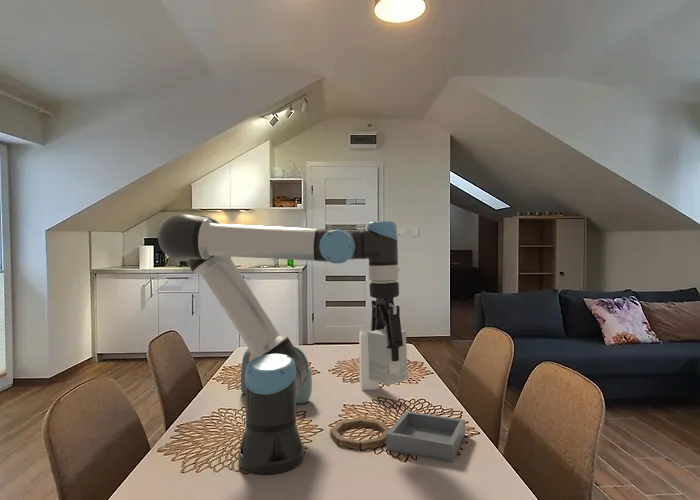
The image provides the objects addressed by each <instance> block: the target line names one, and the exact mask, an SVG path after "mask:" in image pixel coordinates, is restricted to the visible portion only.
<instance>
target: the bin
mask: <svg viewBox="0 0 700 500" xmlns="http://www.w3.org/2000/svg"><path fill="white" fill-rule="evenodd" d="M465 436H466V419H461V418H455V417H449V416H441V415H436V414H435V415H434V414H430V413H429V414H428V413H424V412H423V413H421V412H415V411H410V410H405V411H404V412H403V413H402V415H400V416H399V418H398V419H397V420H396V421H395V423H394V424H393V425H392V426H391V428H390V430H389V431H388V432H387V433H386V443H385V444H386V445H385V446H386V448H385V449H386V451H391V452H397V453H402V454H406V455H407V454H408V455H411V456H418V457H422V458H427V459H434V460H439V461H444V462H450V463H454V461H455V458H456V457H457V454H458V451H459V450H460V448H461V445H462V442H463V440H464V438H465Z"/></svg>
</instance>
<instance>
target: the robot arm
mask: <svg viewBox="0 0 700 500" xmlns="http://www.w3.org/2000/svg"><path fill="white" fill-rule="evenodd" d="M397 230H398V229H397V224H396V223H395V222H394V221H389V220H388V221H387V220H385V221H384V220H383V221H382V220H381V221H370V222H368V223H367V227H366V229H362V230H354V229H353V230H344V229H340V228H333V229H330V228H329V229H328V228H327V229H326V228H325V229H324V228H309V227H308V228H307V227H305V228H304V227H289V226H287V227H286V226H269V225H268V226H265V225H249V224H247V225H246V224H231V223H230V224H229V223H228V224H227V223H221V222H219V221H217V220H216V219H213V218H212V217H210V216H206V215H191V214H187V213H186V214H185V213H181V214H175V215H173V216H171V217H169V218H168V219H166V220H165V221H164V222H163V223H162V225H161V226H160V228H159V231H158V235H157V239H158V244H159V247H160V249H161V250H162V252H163V253H164V254H165V255H166V256H168V257H169V258H170V259H172V260H175V261H178V262H186V264H187V265H188V267H189V268H190V270H191V271H192V273H193V274H195V275H199V276H201V277H203V279H204V281H205V282H206V285H208V287H209V289H210V290H211V292H212V294H213V295H214V296H215V298H216V299H217V301H218V303H219V304H220V306H221V308H223V310H224V312H225V313H226V316H227V317H228V318H229V320H230V322H231V323H232V324H233V326H234V327H235V329H236V331H237V332H238V334H239V336H240V337H241V339H242V340H243V342H244V344H245V345H246V347H247V349H248V348H249V350H250V351H251V356H250V362H249V363H248V364H247V366H246V371H245V379H244V381H245V393H244V394H245V396H244V397H245V431H244V433H243V436H242V439H241V442H240V446H239V449H238V465H239V467H240V468H241V469H243V470H244V471H246V472H249V473H252V474H256V475H273V474H279V473H283V472H287V471H290V470H293V469H294V468H297V466H299V465H300V464H301V463H302V462H303V460H304V457H305V456H304V454H305V453H304V452H305V451H304V450H305V449H304V444H303V442H302V439H301V436H300V432H299V429H298V427H297V409H296V408H297V404H296V395H297V393H298V391H299V390H300V388H301V387H302V386H303V384H304V383H305V381H306V379H307V375H308V368H309V361H308V359H307V356H306V354H305V353H304V352H303V351H302V350H301V348H299V347H298V346H294V344H293V343H292V341H291V340H290V338H289V337H288V336H287V335H285V334H280V333H279V332H278V329H276V327H275V325H274V324H273V322H272V321H271V319H270V318H269V316H268V315H267V313H266V311H265V310H264V308H263V307H262V305H261V304H260V302H259V301H258V299H257V296H256V295H255V294H254V292H253V291H252V290H251V288H250V286H249V284H248V283H247V282H246V280H245V279H244V276H242V274H241V272H240V271H239V269H238V268H237V265H235V263H234V261H233V260H232V257H235V258H253V259H255V258H256V259H270V260H273V259H274V260H290V261H291V260H293V261H294V260H295V261H308V262H309V261H313V262H324V263H326V262H327V263H328V262H329V263H332V264H343V263H346V262H347V261H348V260H366V259H367V260H368V280H369V281H370V283H369V297H371V298H374V299H375V300H374V299H373V300H371V322H370V324H371V331H375V330H379V329H385V328H386V332H387V335H388V342H389V346H387V349H388V370H389V374H397V373H400V363H399V347H401V346H403V340H402V331H403V330H402V327H401V326H402V325H401V324H402V323H401V317H400V316H401V315H400V308H401V307H400V305H395V301H394V298H397V297H399V295H400V283H399V282H398V280H399V272H400V268H399V257H398V256H399V255H398V254H399V253H398V251H399V248H398V244H399V243H398V231H397ZM401 330H402V331H401Z"/></svg>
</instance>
